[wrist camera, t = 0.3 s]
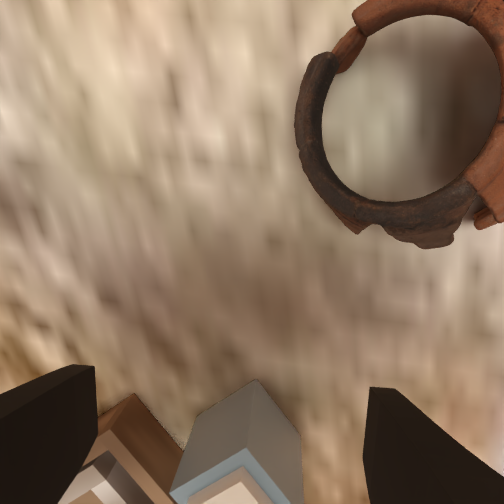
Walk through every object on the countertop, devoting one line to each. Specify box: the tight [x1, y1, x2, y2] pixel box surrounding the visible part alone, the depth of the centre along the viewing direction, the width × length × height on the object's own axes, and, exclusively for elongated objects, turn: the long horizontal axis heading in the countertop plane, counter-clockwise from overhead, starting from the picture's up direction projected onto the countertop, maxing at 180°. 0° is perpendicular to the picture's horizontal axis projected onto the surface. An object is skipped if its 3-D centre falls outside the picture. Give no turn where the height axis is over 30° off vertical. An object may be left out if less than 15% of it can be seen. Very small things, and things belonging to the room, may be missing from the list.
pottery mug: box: [294, 0, 504, 249], centre depth 15 cm, size 12×10×8 cm
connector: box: [169, 379, 304, 504], centre depth 18 cm, size 4×4×6 cm
